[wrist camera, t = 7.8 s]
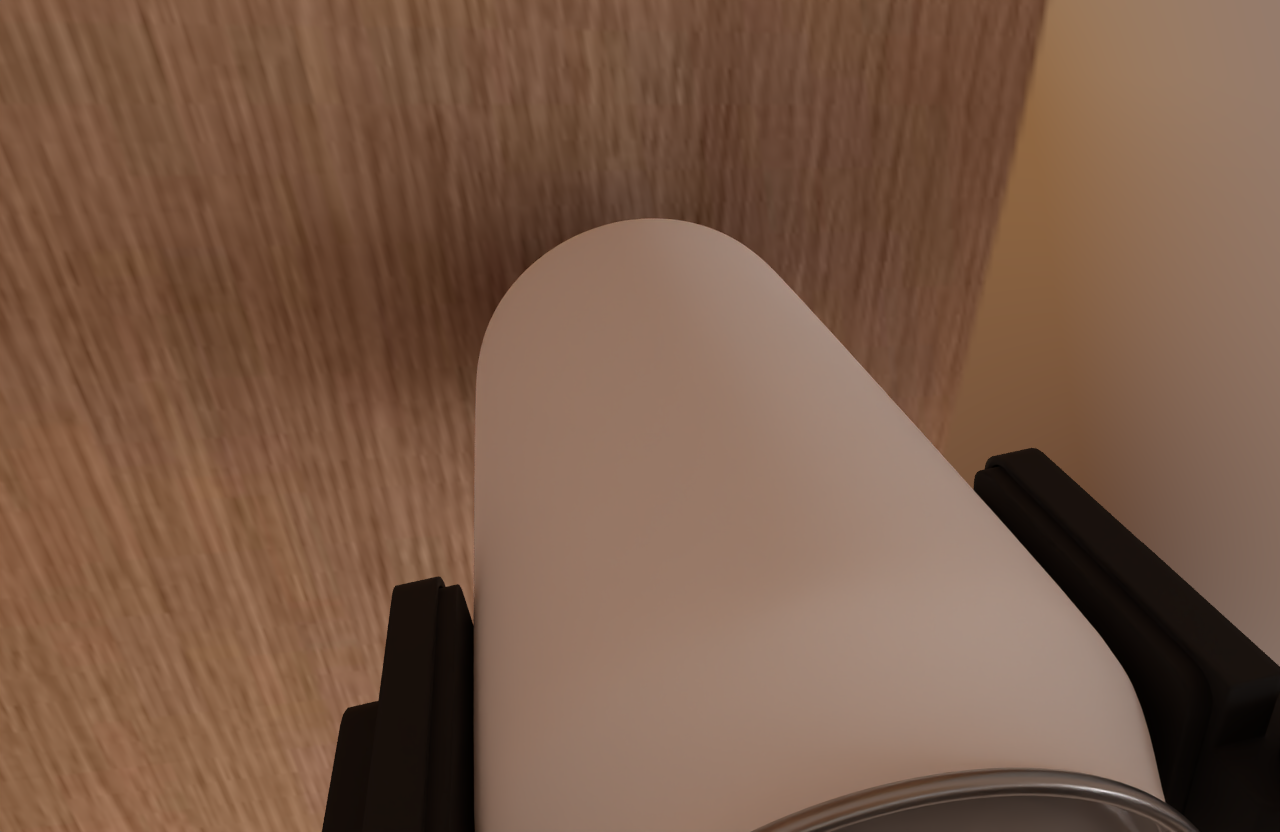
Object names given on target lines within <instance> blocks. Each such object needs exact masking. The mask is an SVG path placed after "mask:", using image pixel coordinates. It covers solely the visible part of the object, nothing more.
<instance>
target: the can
mask: <svg viewBox="0 0 1280 832" xmlns="http://www.w3.org/2000/svg"><path fill="white" fill-rule="evenodd" d="M474 822H475V832H1200V831H1199V830H1198V829H1197V828H1196V827H1195V826H1194V825H1193V824H1192V823H1191V822H1190V821H1189V820H1188V819H1187V818H1185V817H1184V816H1183V815H1182V814H1181V813H1180V812H1178V811H1177V810H1175V809H1174V808H1173V807H1171V806H1170V805H1168V804H1167V803H1166V802H1165V798H1164V795H1163V791H1162V786H1161V782H1160V778H1159V773H1158V769H1157V764H1156V760H1155V755H1154V751H1153V747H1152V742H1151V738H1150V734H1149V731H1148V727H1147V724H1146V721H1145V717H1144V714H1143V711H1142V708H1141V705H1140V703H1139V700H1138V698H1137V695H1136V692H1135V690H1134V688H1133V685H1132V683H1131V681H1130V679H1129V677H1128V675H1127V674H1126V672H1125V670H1124V669H1123V667H1122V666H1121V664H1120V663H1119V661H1118V660H1117V658H1116V657H1115V656H1114V654H1113V653H1112V651H1111V650H1110V649H1109V647H1108V646H1107V644H1106V643H1105V641H1104V640H1103V639H1102V637H1101V636H1100V635H1099V633H1098V632H1097V631H1096V630H1095V629H1094V627H1093V626H1092V625H1091V624H1090V623H1089V621H1088V620H1087V619H1086V618H1085V617H1084V616H1083V614H1082V613H1081V612H1080V611H1079V610H1078V608H1077V607H1076V606H1075V605H1074V604H1073V602H1072V601H1071V600H1070V599H1069V598H1068V596H1067V595H1066V594H1065V593H1064V592H1063V591H1062V589H1061V588H1060V587H1059V586H1058V585H1057V584H1056V582H1055V581H1054V580H1053V579H1052V578H1051V577H1050V576H1049V575H1048V573H1047V572H1046V571H1045V570H1044V569H1043V568H1042V567H1041V565H1040V564H1039V563H1038V562H1037V561H1036V560H1035V559H1034V558H1033V556H1032V555H1031V554H1030V553H1029V552H1028V551H1027V550H1026V548H1025V547H1024V546H1023V545H1022V544H1021V543H1020V542H1019V541H1018V539H1017V538H1016V537H1015V536H1014V535H1013V534H1012V533H1011V531H1010V530H1009V529H1008V528H1007V527H1006V526H1005V525H1004V524H1003V522H1002V521H1001V520H1000V519H999V518H998V517H997V516H996V515H995V513H994V512H993V511H992V510H991V509H990V508H989V507H988V506H987V505H986V503H985V502H984V501H983V500H982V499H981V498H980V497H979V496H978V494H977V493H976V492H975V491H974V490H973V489H972V488H971V487H970V486H969V484H968V483H967V482H966V481H965V480H964V479H963V478H962V477H961V475H960V474H959V473H958V472H957V471H956V470H955V469H954V468H953V467H952V465H951V464H950V463H949V462H948V461H947V460H946V459H945V458H944V456H943V455H942V454H941V453H940V452H939V451H938V450H937V449H936V448H935V446H934V445H933V444H932V443H931V442H930V441H929V440H928V439H927V438H926V436H925V435H924V434H923V433H922V432H921V431H920V430H919V429H918V428H917V426H916V425H915V424H914V423H913V422H912V421H911V420H910V419H909V418H908V417H907V415H906V414H905V413H904V412H903V411H902V410H901V409H900V408H899V407H898V405H897V404H896V403H895V402H894V401H893V400H892V399H891V398H890V397H889V395H888V394H887V393H886V392H885V391H884V390H883V389H882V388H881V387H880V385H879V384H878V383H877V382H876V381H875V380H874V379H873V378H872V377H871V376H870V374H869V373H868V372H867V371H866V370H865V369H864V368H863V367H862V366H861V364H860V363H859V362H858V361H857V360H856V359H855V358H854V357H853V356H852V355H851V353H850V352H849V351H848V350H847V349H846V348H845V347H844V346H843V345H842V344H841V342H840V341H839V340H838V339H837V338H836V337H835V336H834V335H833V334H832V333H831V331H830V330H829V329H828V328H827V327H826V326H825V325H824V324H823V323H822V322H821V321H820V319H819V318H818V317H817V316H816V315H815V314H814V313H813V312H812V311H811V310H810V309H809V307H808V306H807V305H806V304H805V303H804V302H803V301H802V300H801V299H800V298H799V297H798V295H797V294H796V293H795V292H794V291H793V290H792V289H791V288H790V287H789V286H788V285H787V284H786V283H785V282H784V281H783V279H782V278H781V277H780V276H779V275H778V274H777V273H776V272H775V271H774V270H773V269H772V268H771V267H770V266H769V265H768V264H767V263H766V262H765V261H764V260H763V259H761V258H760V257H759V256H758V255H757V254H755V253H754V252H753V251H752V250H750V249H749V248H747V247H746V246H745V245H743V244H742V243H740V242H738V241H737V240H735V239H733V238H732V237H730V236H728V235H726V234H724V233H721V232H719V231H717V230H714V229H711V228H709V227H706V226H703V225H699V224H695V223H691V222H686V221H681V220H673V219H661V218H647V219H633V220H626V221H620V222H615V223H611V224H607V225H603V226H600V227H597V228H594V229H591V230H588V231H586V232H583V233H581V234H579V235H576V236H574V237H572V238H570V239H568V240H566V241H564V242H563V243H561V244H559V245H558V246H556V247H554V248H553V249H551V250H550V251H548V252H547V253H546V254H544V255H543V256H542V257H540V258H539V259H538V260H537V261H535V262H534V263H533V264H532V265H531V266H530V267H529V268H528V269H527V270H525V271H524V272H523V273H522V275H521V276H520V277H519V278H518V279H517V280H516V281H515V282H514V283H513V285H512V286H511V287H510V288H509V290H508V291H507V292H506V294H505V295H504V297H503V298H502V300H501V301H500V303H499V305H498V306H497V308H496V310H495V312H494V314H493V316H492V318H491V320H490V322H489V325H488V327H487V330H486V332H485V335H484V338H483V342H482V346H481V350H480V355H479V360H478V367H477V379H476V405H475V478H474Z"/></svg>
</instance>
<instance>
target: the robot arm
mask: <svg viewBox="0 0 1280 832" xmlns="http://www.w3.org/2000/svg"><path fill="white" fill-rule="evenodd" d="M974 491H975V492H976V493H977V494H978V496H979V497H980V498H981V499H982V500H983V501H984V502H985V503H986V505H987V506H988V507H989V508H990V509H991V510H992V511H993V512H994V513H995V515H996V516H997V517H998V518H999V519H1000V520H1001V521H1002V522H1003V524H1004V525H1005V526H1006V527H1007V528H1008V529H1009V530H1010V531H1011V533H1012V534H1013V535H1014V536H1015V537H1016V538H1017V539H1018V541H1019V542H1020V543H1021V544H1022V545H1023V546H1024V547H1025V548H1026V550H1027V551H1028V552H1029V553H1030V554H1031V555H1032V556H1033V558H1034V559H1035V560H1036V561H1037V562H1038V563H1039V564H1040V565H1041V567H1042V568H1043V569H1044V570H1045V571H1046V572H1047V573H1048V575H1049V576H1050V577H1051V578H1052V579H1053V580H1054V581H1055V582H1056V584H1057V585H1058V586H1059V587H1060V588H1061V589H1062V591H1063V592H1064V593H1065V594H1066V595H1067V596H1068V598H1069V599H1070V600H1071V601H1072V602H1073V604H1074V605H1075V606H1076V607H1077V608H1078V610H1079V611H1080V612H1081V613H1082V614H1083V616H1084V617H1085V618H1086V619H1087V620H1088V621H1089V623H1090V624H1091V625H1092V626H1093V627H1094V629H1095V630H1096V631H1097V632H1098V633H1099V635H1100V636H1101V637H1102V639H1103V640H1104V641H1105V643H1106V644H1107V646H1108V647H1109V649H1110V650H1111V651H1112V653H1113V654H1114V656H1115V657H1116V658H1117V660H1118V661H1119V663H1120V664H1121V666H1122V667H1123V669H1124V670H1125V672H1126V674H1127V675H1128V677H1129V679H1130V681H1131V683H1132V685H1133V688H1134V690H1135V692H1136V695H1137V698H1138V700H1139V703H1140V705H1141V708H1142V711H1143V714H1144V717H1145V721H1146V724H1147V727H1148V731H1149V734H1150V738H1151V742H1152V747H1153V751H1154V755H1155V760H1156V764H1157V769H1158V773H1159V778H1160V782H1161V786H1162V791H1163V795H1164V798H1165V802H1166V803H1167V804H1168V805H1170V806H1171V807H1173V808H1174V809H1175V810H1177V811H1178V812H1180V813H1181V814H1182V815H1183V816H1184V817H1185V818H1187V819H1188V820H1189V821H1190V822H1191V823H1192V824H1193V825H1194V826H1195V827H1196V828H1197V829H1198V830H1199V831H1200V832H1280V667H1279V666H1278V665H1277V664H1276V663H1275V662H1274V661H1273V660H1271V658H1270V657H1268V656H1267V655H1266V654H1265V653H1264V652H1263V651H1262V650H1261V649H1259V648H1258V647H1257V646H1256V645H1255V644H1254V643H1253V642H1251V640H1250V639H1249V638H1247V637H1246V636H1245V635H1244V634H1243V633H1242V632H1241V631H1240V630H1238V629H1237V628H1236V627H1235V626H1234V625H1233V624H1232V623H1231V622H1230V621H1229V620H1227V619H1226V618H1225V617H1224V616H1223V615H1222V614H1221V613H1220V612H1219V611H1218V610H1217V609H1215V608H1214V607H1213V606H1212V605H1211V604H1210V603H1209V602H1208V601H1207V600H1206V599H1204V598H1203V597H1202V596H1201V595H1200V594H1199V593H1198V592H1197V591H1195V590H1194V589H1193V588H1192V587H1191V586H1190V585H1189V584H1188V583H1187V582H1186V581H1184V580H1183V579H1182V578H1181V577H1180V576H1179V575H1178V574H1177V573H1176V572H1175V571H1173V570H1172V569H1171V568H1170V567H1169V566H1168V565H1167V564H1166V563H1165V562H1163V561H1162V560H1161V559H1160V558H1159V557H1158V556H1157V555H1156V554H1155V553H1154V552H1152V551H1151V550H1150V549H1149V548H1148V547H1147V546H1146V545H1145V544H1144V543H1142V542H1141V541H1140V540H1139V539H1137V538H1136V537H1135V536H1134V535H1133V534H1132V533H1131V532H1130V531H1129V530H1128V529H1126V528H1125V527H1124V526H1123V525H1122V524H1121V523H1120V522H1119V521H1118V520H1117V519H1115V518H1114V517H1113V516H1112V515H1111V514H1110V513H1109V512H1108V511H1107V510H1105V509H1104V508H1103V507H1102V506H1101V505H1100V504H1099V503H1098V502H1097V501H1096V500H1094V499H1093V498H1092V497H1091V496H1090V495H1089V494H1088V493H1087V492H1086V491H1085V490H1083V489H1082V488H1081V487H1080V486H1079V485H1078V484H1077V483H1076V482H1075V481H1073V480H1072V479H1071V478H1070V477H1069V476H1068V475H1067V474H1066V473H1065V472H1064V471H1062V470H1061V469H1060V468H1059V467H1058V466H1057V465H1056V464H1055V463H1054V462H1052V461H1051V460H1050V459H1049V458H1048V457H1047V456H1046V455H1045V454H1044V453H1043V452H1041V451H1040V450H1038V449H1035V448H1029V449H1024V450H1020V451H1015V452H1011V453H1006V454H1002V455H997V456H992V457H991V458H989V459H988V461H987V462H986V465H985V470H980V471H978V472H977V473H976V475H975V479H974ZM322 832H475V822H474V626H473V623H472V620H471V616H470V613H469V610H468V607H467V604H466V601H465V598H464V595H463V592H462V589H461V587H460V585H458V584H457V585H453V586H448V587H445V584H444V582H443V580H442V578H441V577H434V578H429V579H425V580H420V581H416V582H411V583H406V584H402V585H397V586H395V587H394V589H393V593H392V600H391V608H390V616H389V624H388V631H387V639H386V647H385V655H384V663H383V671H382V678H381V686H380V694H379V701H376V702H371V703H367V704H362V705H358V706H354V707H349V708H347V710H346V711H345V713H344V714H343V717H342V721H341V725H340V730H339V736H338V742H337V747H336V753H335V759H334V765H333V771H332V776H331V782H330V788H329V794H328V800H327V805H326V811H325V817H324V823H323V829H322Z"/></svg>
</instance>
